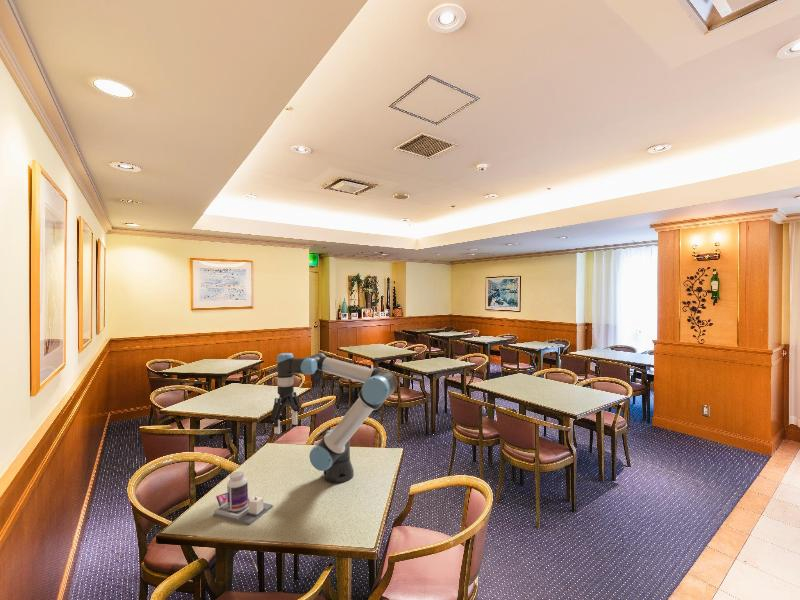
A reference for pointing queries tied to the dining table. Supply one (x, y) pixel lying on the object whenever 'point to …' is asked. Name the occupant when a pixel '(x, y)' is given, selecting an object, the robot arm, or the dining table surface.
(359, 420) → the robot arm
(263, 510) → the dock plate
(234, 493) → the pill bottle
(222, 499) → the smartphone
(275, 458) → the dining table surface
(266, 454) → the dining table surface
